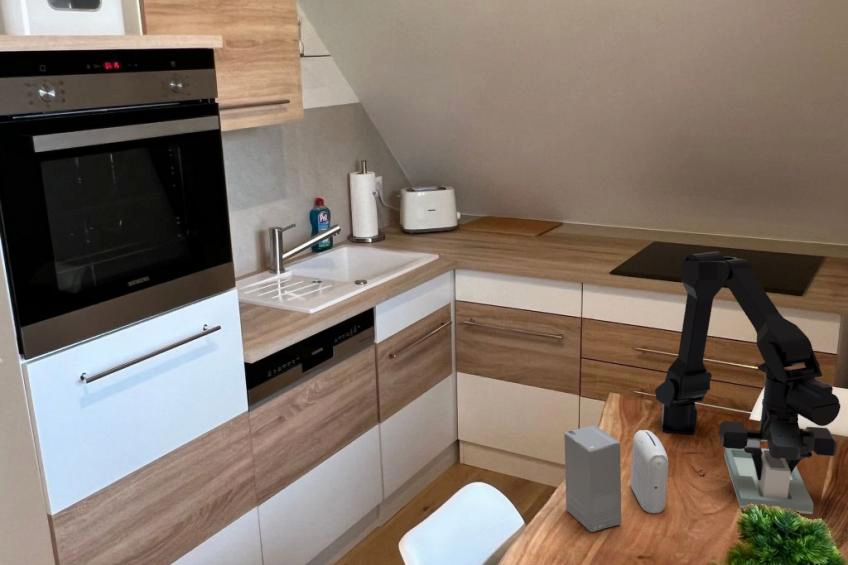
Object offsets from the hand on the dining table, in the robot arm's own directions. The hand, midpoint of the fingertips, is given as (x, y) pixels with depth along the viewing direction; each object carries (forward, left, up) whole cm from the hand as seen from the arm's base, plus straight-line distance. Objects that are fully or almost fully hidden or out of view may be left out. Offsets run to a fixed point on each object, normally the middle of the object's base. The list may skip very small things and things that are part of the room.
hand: (771, 480), depth 149 cm
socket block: (0, 0, -1) cm, 1 cm away
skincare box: (-32, -13, -3) cm, 35 cm away
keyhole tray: (0, +4, -3) cm, 5 cm away
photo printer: (-22, -5, -3) cm, 23 cm away
